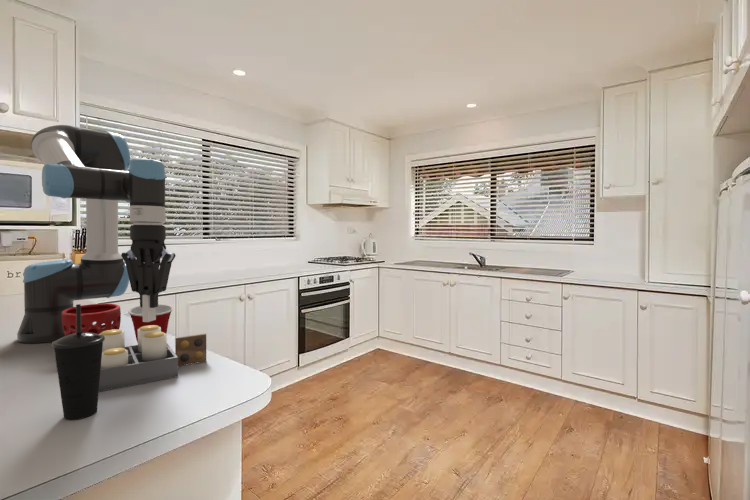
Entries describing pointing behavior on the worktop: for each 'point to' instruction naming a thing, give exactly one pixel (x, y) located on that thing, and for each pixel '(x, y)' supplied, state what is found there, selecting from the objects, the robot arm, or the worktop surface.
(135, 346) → the button board
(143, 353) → the button
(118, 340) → the button
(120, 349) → the button
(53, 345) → the drinking cup
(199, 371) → the worktop surface
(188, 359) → the placard
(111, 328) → the plant pot
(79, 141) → the robot arm
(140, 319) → the plastic cup
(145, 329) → the button
